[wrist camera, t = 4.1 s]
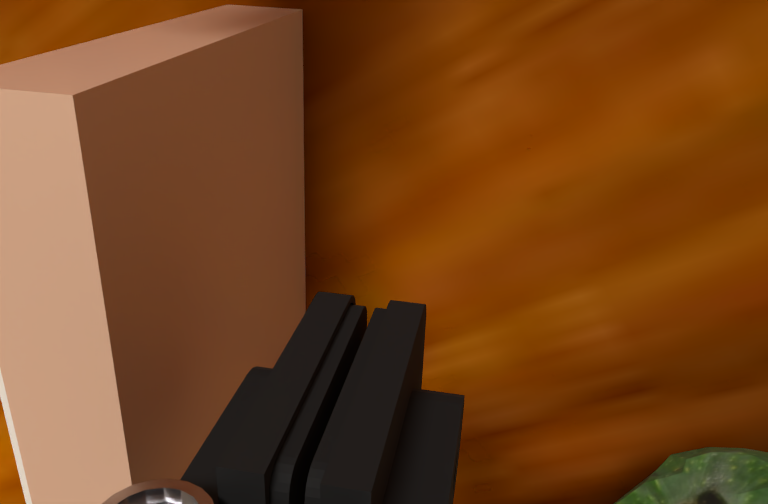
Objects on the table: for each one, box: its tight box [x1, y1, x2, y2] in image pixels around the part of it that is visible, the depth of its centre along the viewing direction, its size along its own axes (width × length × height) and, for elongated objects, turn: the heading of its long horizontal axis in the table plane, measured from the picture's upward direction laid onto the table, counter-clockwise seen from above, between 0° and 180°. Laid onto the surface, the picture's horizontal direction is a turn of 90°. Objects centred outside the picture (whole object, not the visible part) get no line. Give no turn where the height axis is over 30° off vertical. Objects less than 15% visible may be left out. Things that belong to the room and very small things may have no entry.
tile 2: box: [0, 5, 306, 504], centre depth 14 cm, size 9×2×9 cm, turn 178°
